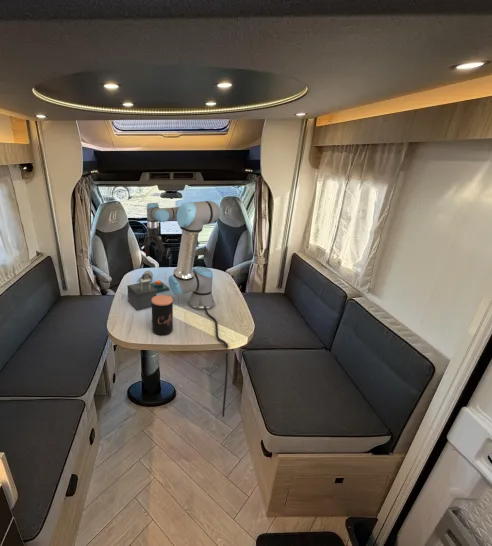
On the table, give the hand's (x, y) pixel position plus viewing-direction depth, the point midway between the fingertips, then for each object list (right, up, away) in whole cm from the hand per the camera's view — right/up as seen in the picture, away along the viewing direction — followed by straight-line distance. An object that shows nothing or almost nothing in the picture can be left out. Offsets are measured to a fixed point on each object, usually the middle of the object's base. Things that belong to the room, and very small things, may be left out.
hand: (153, 258), depth 208 cm
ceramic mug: (-7, -16, +16) cm, 23 cm away
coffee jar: (+7, -40, -47) cm, 62 cm away
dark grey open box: (-6, -28, -18) cm, 34 cm away
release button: (+3, -17, +2) cm, 17 cm away
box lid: (-6, -19, -21) cm, 29 cm away
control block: (+3, -20, +3) cm, 21 cm away
